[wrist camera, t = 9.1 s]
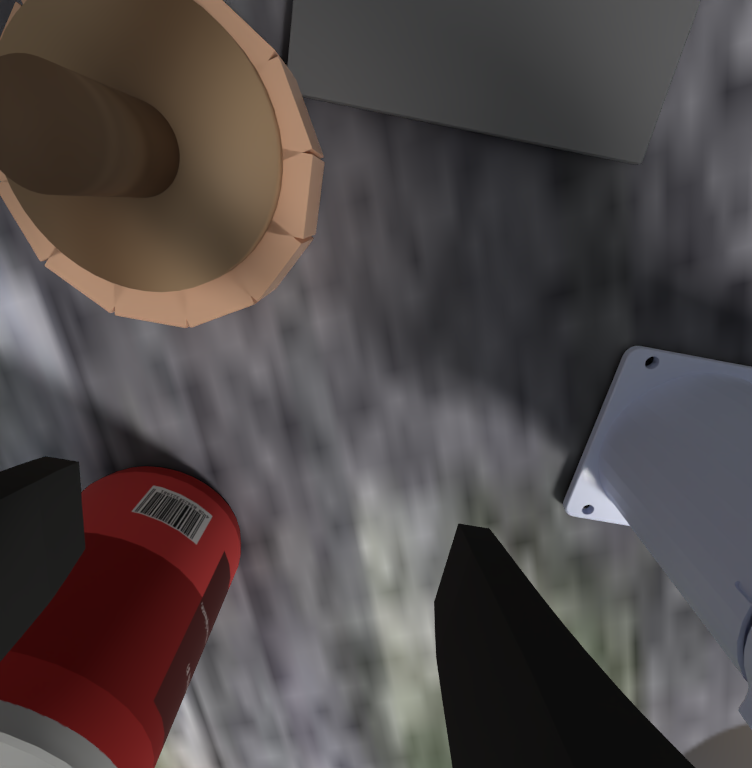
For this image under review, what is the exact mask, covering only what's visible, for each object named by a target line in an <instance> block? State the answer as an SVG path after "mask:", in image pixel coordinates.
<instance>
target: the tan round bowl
mask: <svg viewBox="0 0 752 768" xmlns="http://www.w3.org/2000/svg"><path fill="white" fill-rule="evenodd" d="M21 1H22V3H23V4H24V3H25V2H26V1H27V0H21ZM193 1H195V2H196V3H197V4H199V5H200V6H202V7H203V8H204V9H205V10H206V11H207V12H208V13H209V14H210V15H211V16H212V17H213V18H214V19H216V20H217V21H218V22H219V23H220V24H221V25H222V26H223V27H224V29H225V30H226V31H227V32H228V33H229V34H230V35H231V36H232V37H233V39H234V40H235V41H236V42H237V43H238V44H239V46H240V47H241V48H242V49H243V50H244V52H245V53H246V55H247V56H248V58H249V59H250V61H251V62H252V64H253V65H254V67H255V68H256V70H257V71H258V73H259V75H260V77H261V79H262V81H263V83H264V85H265V87H266V89H267V91H268V94H269V97H270V99H271V102H272V105H273V107H274V110H275V114H276V118H277V122H278V125H279V129H280V136H281V143H282V150H283V174H282V185H281V191H280V196H279V200H278V205H277V208H276V211H275V213H274V216H273V219H272V222H271V224H270V226H269V228H268V229H267V231H266V233H265V235H264V237H263V238H262V240H261V241H260V243H259V244H258V245H257V247H256V248H255V250H254V251H253V252H252V253H251V254H250V255H249V256H248V257H247V258H246V259H245V260H244V261H243V262H242V263H240V264H239V265H238V266H236V267H235V268H234V269H233V270H231V271H230V272H228V273H226V274H224V275H222V276H221V277H219V278H217V279H214V280H212V281H209V282H207V283H204V284H202V285H199V286H196V287H194V288H189V289H185V290H180V291H171V292H150V291H141V290H136V289H131V288H127V287H123V286H120V285H117V284H114V283H111V282H109V281H107V280H104V279H102V278H100V277H98V276H95V275H94V274H92V273H90V272H89V271H87V270H85V269H83V268H82V267H80V266H79V265H77V264H76V263H74V262H73V261H72V260H70V259H69V258H68V257H66V256H65V255H64V254H63V253H62V252H60V251H59V250H58V249H57V248H56V247H55V246H54V245H53V244H52V243H51V242H49V241H48V239H47V238H46V237H45V236H44V235H43V234H42V233H41V232H40V231H39V229H38V228H37V227H36V226H35V225H34V223H33V222H32V221H31V219H30V218H29V217H28V215H27V214H26V212H25V211H24V210H23V208H22V206H21V205H20V203H19V201H18V200H17V198H16V196H15V195H14V193H13V191H12V189H11V187H10V185H9V183H8V180H7V178H6V176H5V174H4V173H3V172H2V171H1V170H0V181H3V182H0V196H1V197H2V199H3V201H4V202H5V204H6V205H7V207H8V209H9V210H10V212H11V214H12V215H13V217H14V219H15V220H16V222H17V224H18V225H19V227H20V229H21V230H22V232H23V233H24V235H25V237H26V238H27V240H28V242H29V243H30V245H31V247H32V248H33V250H34V252H35V253H36V255H37V256H38V258H39V260H40V261H46V260H47V262H46V264H45V266H46V267H47V268H48V269H50V270H51V271H53V272H54V273H55V274H57V275H58V276H59V277H61V278H62V279H64V280H65V281H66V282H68V283H69V284H71V285H72V286H73V287H75V288H76V289H77V290H79V291H80V292H82V293H83V294H84V295H86V296H87V297H89V298H90V299H91V300H93V301H94V302H96V303H97V304H98V305H100V306H101V307H102V308H104V309H105V310H107V311H108V312H109V313H112V312H114V311H115V315H117V316H122V317H128V318H133V319H139V320H144V321H150V322H155V323H161V324H166V325H172V326H177V327H183V328H187V327H189V326H190V327H194V326H197V325H199V324H202V323H205V322H208V321H210V320H213V319H216V318H219V317H221V316H224V315H227V314H229V313H232V312H235V311H238V310H240V309H243V308H246V307H249V306H251V305H254V304H256V303H257V302H258V301H260V300H261V299H262V298H264V297H265V296H267V295H268V294H269V293H271V292H272V291H273V290H275V289H276V288H277V287H278V285H279V284H280V283H281V281H282V280H283V279H284V277H285V276H286V275H287V273H288V272H289V271H290V269H291V268H292V267H293V266H294V264H295V263H296V262H297V260H298V259H299V258H300V256H301V255H302V254H303V252H304V251H305V250H306V248H307V247H308V246H309V244H310V243H311V242H312V240H313V239H314V238H313V237H312V235H315V234H316V227H317V219H318V211H319V204H320V199H321V187H322V179H323V171H324V163H325V162H323V161H322V160H320V158H323V157H324V156H323V153H322V150H321V147H320V145H319V142H318V139H317V136H316V133H315V131H314V128H313V125H312V122H311V119H310V117H309V114H308V111H307V108H306V106H305V103H304V100H303V97H302V94H301V92H300V89H299V86H298V83H297V80H296V79H295V77H294V76H293V74H292V73H291V71H290V70H289V69H288V67H287V66H286V65H285V63H284V62H283V61H282V59H281V58H280V56H279V55H278V54H277V52H276V51H275V50H274V49H273V48H272V47H271V46H270V45H269V44H268V43H267V42H266V41H265V40H264V39H263V38H262V37H260V36H259V35H258V34H257V33H256V32H255V31H254V30H253V29H252V28H251V27H250V26H249V25H248V24H247V23H246V22H245V21H244V20H243V19H242V18H241V17H239V16H238V15H237V14H236V13H235V12H234V11H233V10H232V9H231V8H230V7H229V6H228V5H227V4H226V3H225V2H224V1H223V0H193ZM21 6H22V5H21V4H19V3H17V2H15V4H14V6H13V9H12V11H11V14H10V16H9V18H8V21H7V23H6V25H5V28H4V30H3V32H2V35H3V33H4V31H5V29H6V27H7V26H8V24H9V22H10V21H11V19H12V18H13V16H14V15H15V13H16V12H17V11H18V10H19V8H20V7H21ZM2 35H1V37H0V40H1V38H2Z"/></svg>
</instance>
